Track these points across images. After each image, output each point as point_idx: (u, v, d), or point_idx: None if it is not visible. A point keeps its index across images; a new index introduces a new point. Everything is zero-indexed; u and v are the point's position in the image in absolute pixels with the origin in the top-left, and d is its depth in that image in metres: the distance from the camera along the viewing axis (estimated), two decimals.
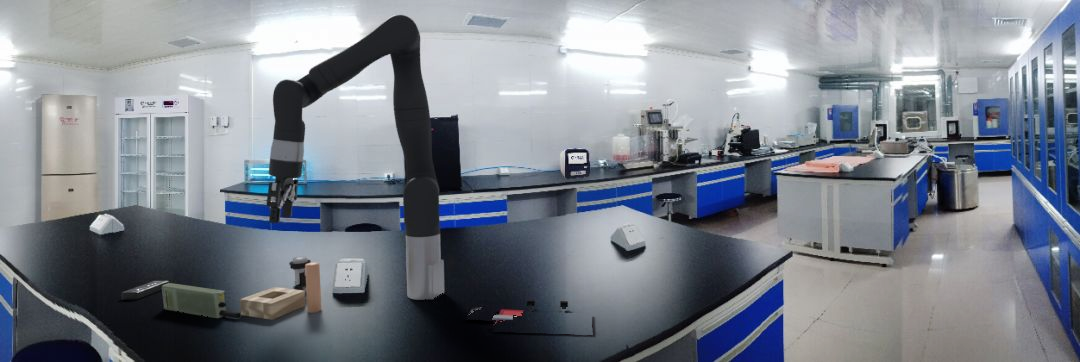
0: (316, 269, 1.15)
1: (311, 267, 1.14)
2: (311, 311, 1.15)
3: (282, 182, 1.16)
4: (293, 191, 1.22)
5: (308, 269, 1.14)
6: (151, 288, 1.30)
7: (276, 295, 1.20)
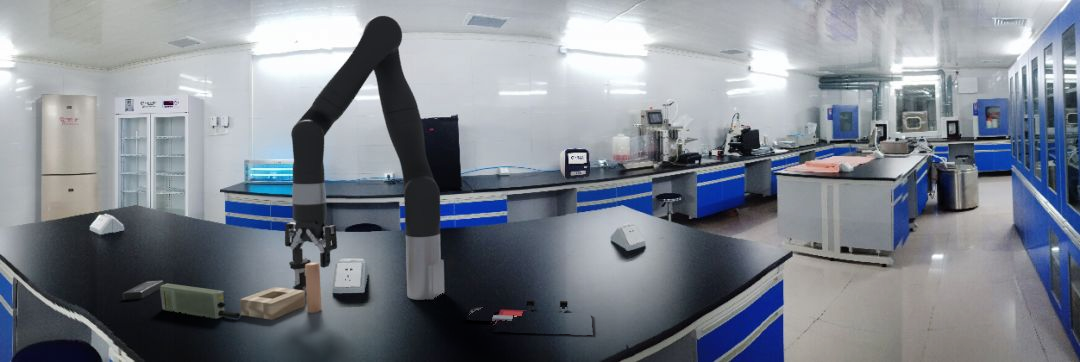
0: (316, 269, 1.15)
1: (311, 267, 1.14)
2: (311, 311, 1.15)
3: (324, 225, 1.14)
4: None
5: (308, 269, 1.14)
6: (151, 288, 1.30)
7: (276, 295, 1.20)
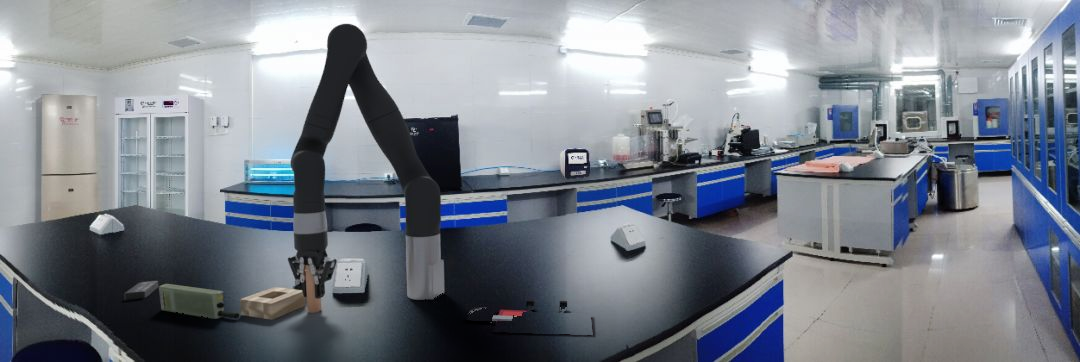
0: None
1: None
2: (311, 311, 1.15)
3: None
4: None
5: (308, 269, 1.14)
6: (150, 287, 1.30)
7: (276, 295, 1.20)
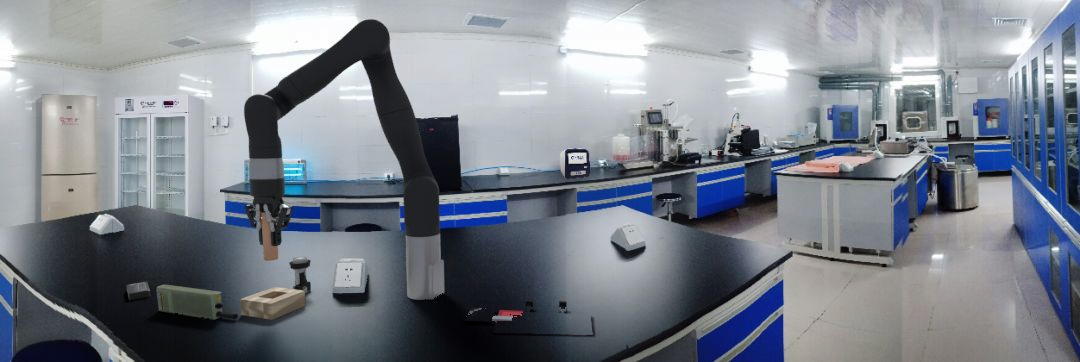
0: None
1: None
2: (267, 259, 1.14)
3: (283, 202, 1.14)
4: None
5: (264, 216, 1.13)
6: (148, 287, 1.31)
7: (276, 295, 1.20)
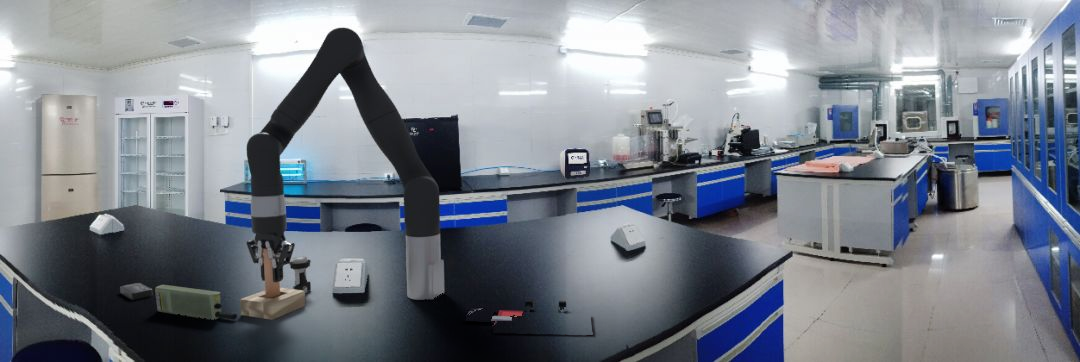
0: None
1: None
2: (269, 295, 1.15)
3: (285, 238, 1.15)
4: None
5: (265, 252, 1.14)
6: (146, 287, 1.31)
7: None
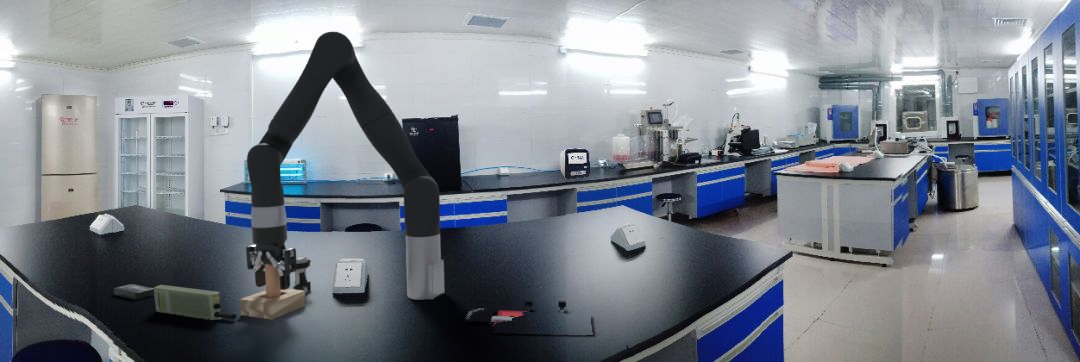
0: (275, 269, 1.15)
1: (271, 267, 1.15)
2: None
3: (285, 247, 1.15)
4: None
5: (267, 268, 1.14)
6: None
7: None
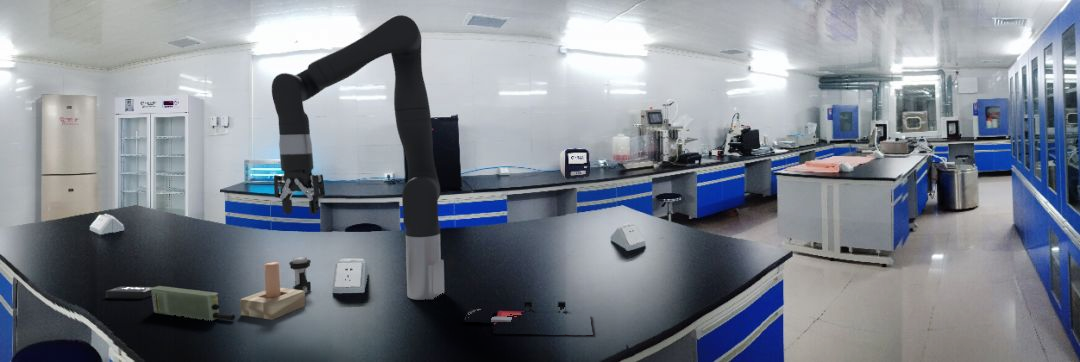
0: (275, 269, 1.15)
1: (270, 267, 1.15)
2: None
3: None
4: None
5: (267, 268, 1.15)
6: None
7: None
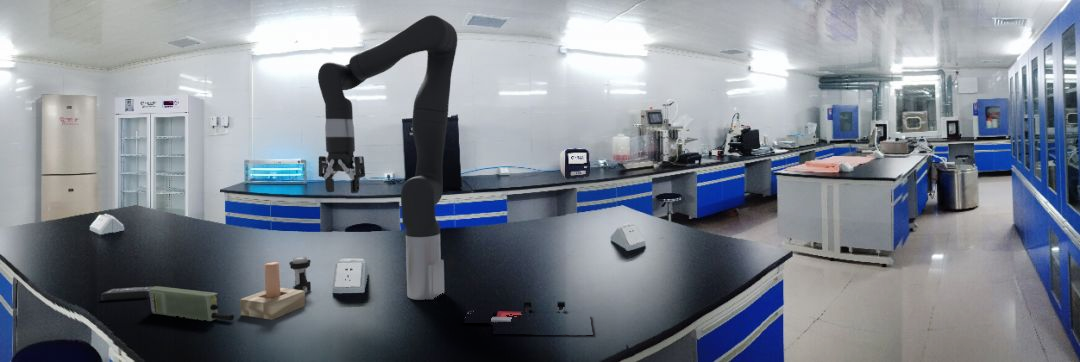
0: (275, 269, 1.15)
1: (270, 267, 1.15)
2: None
3: None
4: None
5: (267, 268, 1.15)
6: None
7: None
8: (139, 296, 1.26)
